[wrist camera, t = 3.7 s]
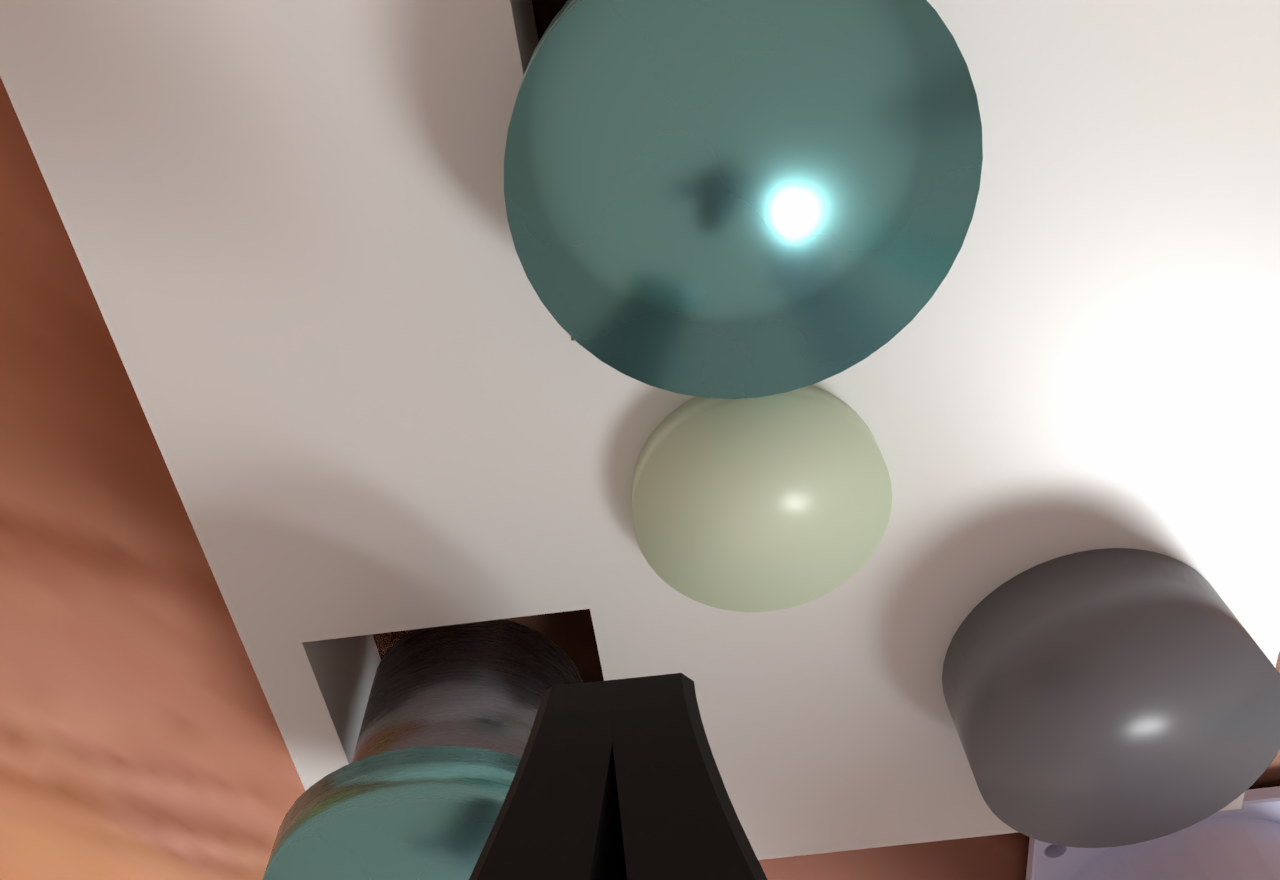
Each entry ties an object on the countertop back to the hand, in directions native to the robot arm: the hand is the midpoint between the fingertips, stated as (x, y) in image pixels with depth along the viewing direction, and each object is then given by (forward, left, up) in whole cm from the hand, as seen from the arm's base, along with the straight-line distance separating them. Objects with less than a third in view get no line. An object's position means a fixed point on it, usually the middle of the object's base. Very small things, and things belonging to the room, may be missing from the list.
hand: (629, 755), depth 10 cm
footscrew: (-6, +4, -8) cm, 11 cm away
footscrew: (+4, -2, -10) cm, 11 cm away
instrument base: (-2, -2, -10) cm, 10 cm away
